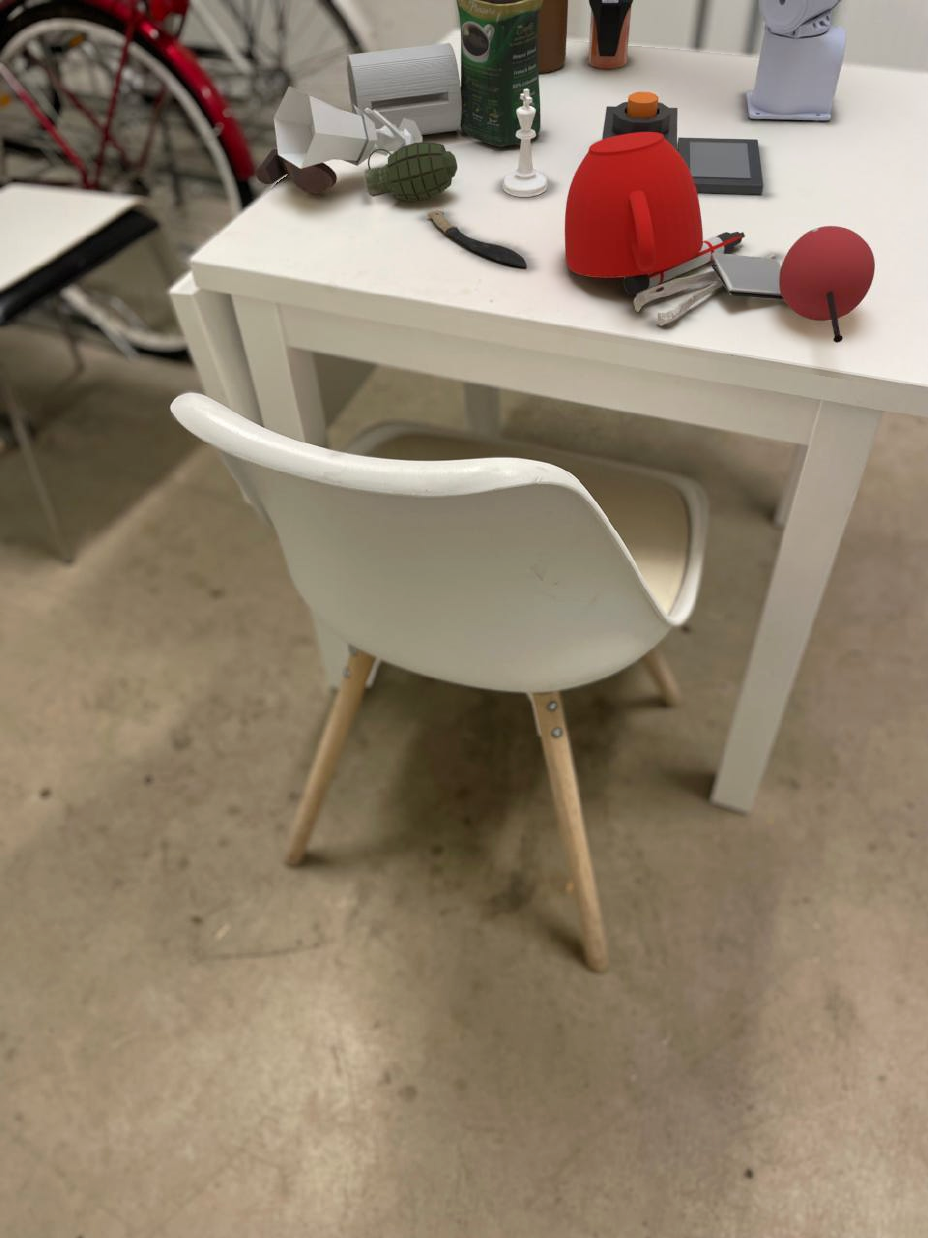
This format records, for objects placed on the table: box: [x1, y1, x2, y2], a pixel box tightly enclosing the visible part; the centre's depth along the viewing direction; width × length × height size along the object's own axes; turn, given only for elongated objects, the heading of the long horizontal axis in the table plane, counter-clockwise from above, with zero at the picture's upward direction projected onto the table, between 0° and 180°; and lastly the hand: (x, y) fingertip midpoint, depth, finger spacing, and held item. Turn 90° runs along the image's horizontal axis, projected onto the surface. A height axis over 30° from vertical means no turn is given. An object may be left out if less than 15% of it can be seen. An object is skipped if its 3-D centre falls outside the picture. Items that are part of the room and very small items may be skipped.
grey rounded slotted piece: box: [346, 42, 462, 136], centre depth 112 cm, size 9×9×12 cm
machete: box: [427, 210, 527, 269], centre depth 97 cm, size 15×3×1 cm, turn 40°
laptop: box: [710, 253, 784, 301], centre depth 87 cm, size 7×6×2 cm
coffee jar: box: [455, 0, 543, 147], centre depth 108 cm, size 10×8×19 cm
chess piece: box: [502, 89, 548, 198], centre depth 101 cm, size 5×5×10 cm
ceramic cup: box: [564, 132, 704, 279], centre depth 87 cm, size 13×17×10 cm
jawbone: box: [633, 252, 778, 327], centre depth 89 cm, size 17×5×2 cm, turn 127°
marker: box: [623, 231, 746, 296], centre depth 91 cm, size 15×2×2 cm
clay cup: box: [587, 4, 633, 70], centre depth 127 cm, size 5×5×7 cm
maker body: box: [601, 101, 678, 150], centre depth 105 cm, size 8×12×6 cm, turn 171°
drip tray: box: [677, 137, 764, 195], centre depth 106 cm, size 9×12×1 cm
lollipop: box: [779, 225, 876, 344], centre depth 80 cm, size 8×8×15 cm
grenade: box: [364, 141, 458, 202], centre depth 103 cm, size 6×7×10 cm
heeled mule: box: [255, 148, 338, 195], centre depth 106 cm, size 4×11×4 cm
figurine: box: [273, 86, 424, 169], centre depth 104 cm, size 7×8×18 cm
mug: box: [538, 0, 569, 74], centre depth 125 cm, size 12×8×9 cm, turn 125°
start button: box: [627, 91, 659, 118], centre depth 102 cm, size 3×3×2 cm
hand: (608, 47), depth 128 cm, fingers closed on clay cup, 5 cm apart
